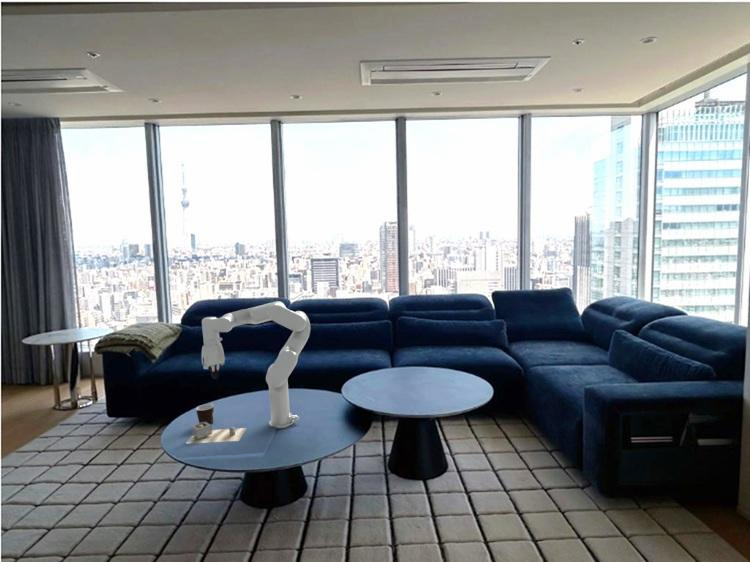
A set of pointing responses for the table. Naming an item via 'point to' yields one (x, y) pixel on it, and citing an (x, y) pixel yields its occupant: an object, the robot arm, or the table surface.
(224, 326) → the robot arm
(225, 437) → the stand board
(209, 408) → the coffee mug
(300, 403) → the table surface
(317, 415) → the table surface
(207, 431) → the collar
